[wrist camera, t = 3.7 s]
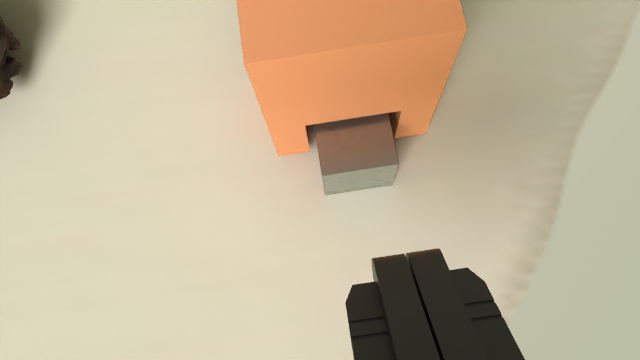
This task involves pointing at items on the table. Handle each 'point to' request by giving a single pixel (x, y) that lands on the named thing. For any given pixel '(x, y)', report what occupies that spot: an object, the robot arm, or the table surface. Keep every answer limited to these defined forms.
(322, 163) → the bar
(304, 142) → the sleeve
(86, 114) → the table surface
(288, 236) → the table surface
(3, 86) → the dark brown rough lump
